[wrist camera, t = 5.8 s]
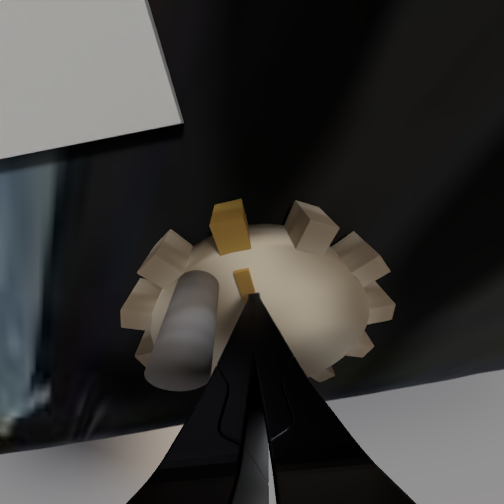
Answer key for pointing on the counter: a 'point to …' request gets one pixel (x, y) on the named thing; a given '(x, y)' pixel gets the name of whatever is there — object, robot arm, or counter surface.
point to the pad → (80, 73)
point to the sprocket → (255, 281)
